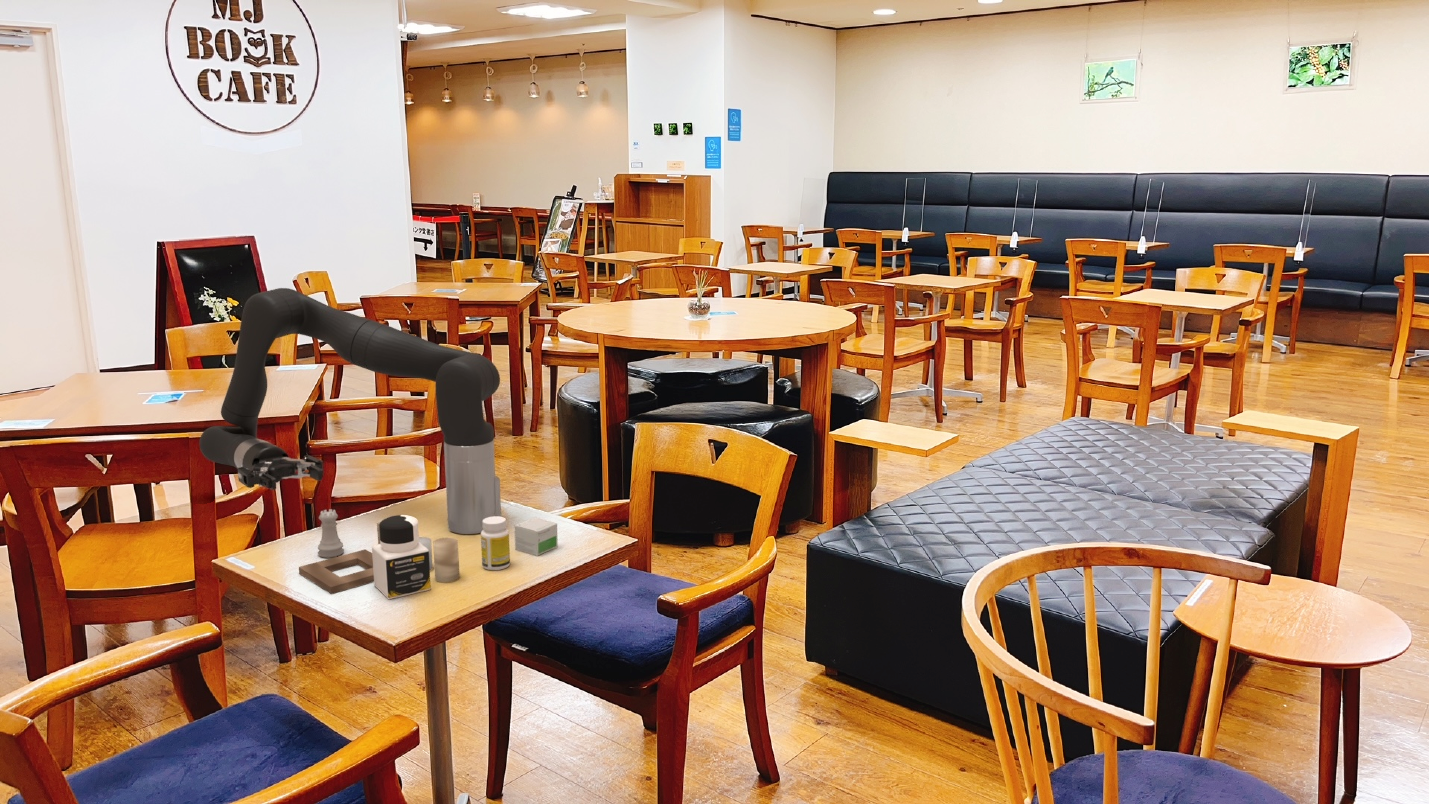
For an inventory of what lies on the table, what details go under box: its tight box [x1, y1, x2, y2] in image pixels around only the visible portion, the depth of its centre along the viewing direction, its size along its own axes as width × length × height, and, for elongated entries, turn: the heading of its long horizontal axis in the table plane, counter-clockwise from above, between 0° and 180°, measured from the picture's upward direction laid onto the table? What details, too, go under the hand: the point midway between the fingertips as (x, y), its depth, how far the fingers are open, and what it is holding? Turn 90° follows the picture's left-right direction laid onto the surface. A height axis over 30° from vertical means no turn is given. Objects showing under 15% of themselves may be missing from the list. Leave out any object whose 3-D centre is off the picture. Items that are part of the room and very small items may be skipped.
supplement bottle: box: [480, 516, 511, 571], centre depth 177 cm, size 5×5×8 cm
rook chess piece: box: [317, 508, 345, 559], centre depth 182 cm, size 4×4×8 cm
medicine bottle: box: [371, 514, 432, 600], centre depth 167 cm, size 7×7×12 cm
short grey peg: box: [419, 536, 434, 571], centre depth 176 cm, size 4×4×5 cm
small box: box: [514, 516, 558, 557], centre depth 186 cm, size 6×6×5 cm
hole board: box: [298, 521, 381, 595], centre depth 173 cm, size 12×12×9 cm
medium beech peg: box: [432, 537, 461, 584], centre depth 172 cm, size 4×4×6 cm
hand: (297, 479), depth 188 cm, fingers open, 8 cm apart
